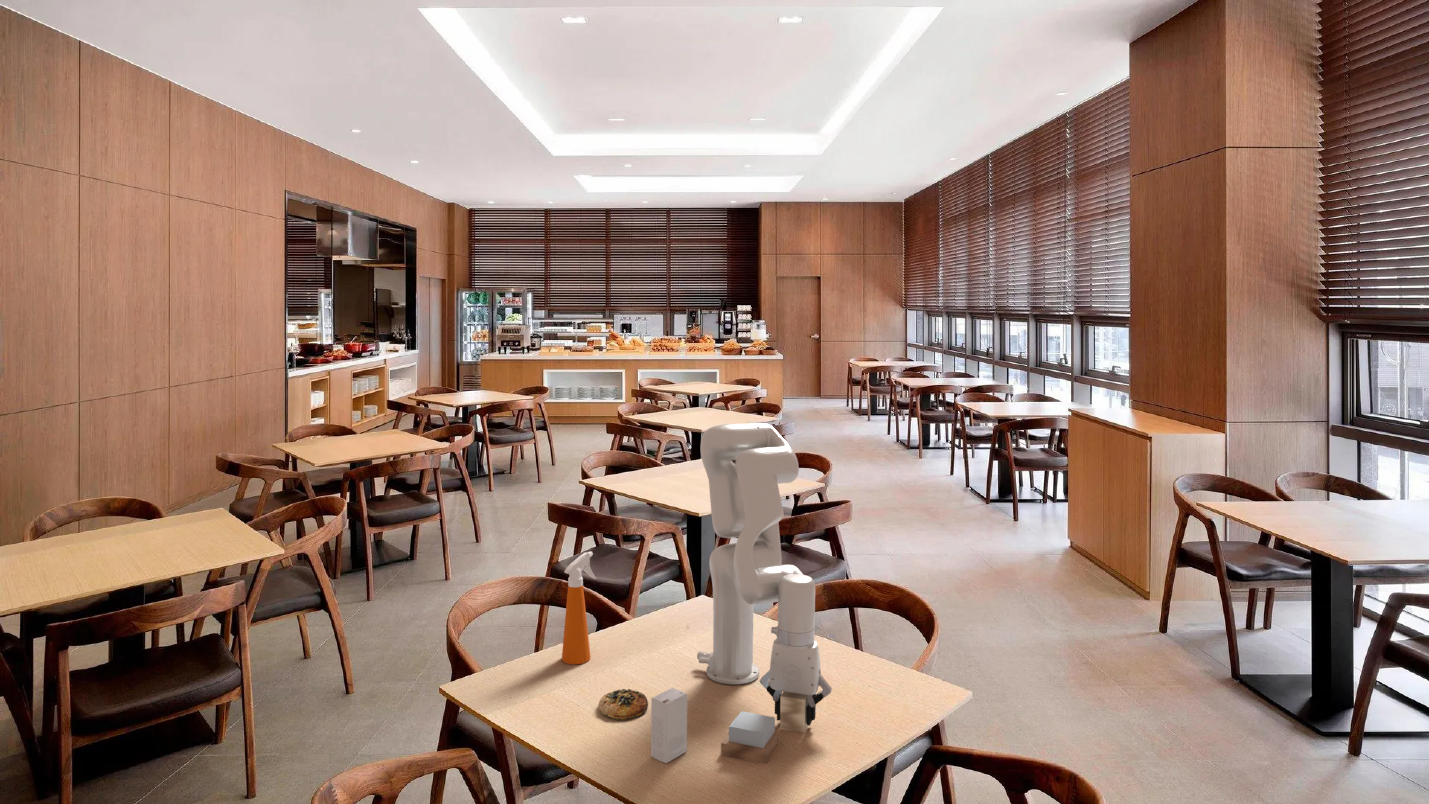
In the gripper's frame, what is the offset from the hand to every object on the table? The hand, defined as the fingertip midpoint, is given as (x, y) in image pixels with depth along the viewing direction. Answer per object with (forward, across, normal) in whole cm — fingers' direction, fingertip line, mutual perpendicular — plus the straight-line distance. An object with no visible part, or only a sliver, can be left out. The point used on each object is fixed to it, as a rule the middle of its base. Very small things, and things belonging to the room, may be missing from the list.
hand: (794, 719), depth 169 cm
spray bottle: (+2, -59, +17) cm, 61 cm away
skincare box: (+2, -20, -20) cm, 28 cm away
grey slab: (-1, -6, -12) cm, 14 cm away
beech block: (+1, 0, 0) cm, 1 cm away
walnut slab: (+2, -6, -12) cm, 14 cm away
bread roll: (+2, -37, -5) cm, 37 cm away
